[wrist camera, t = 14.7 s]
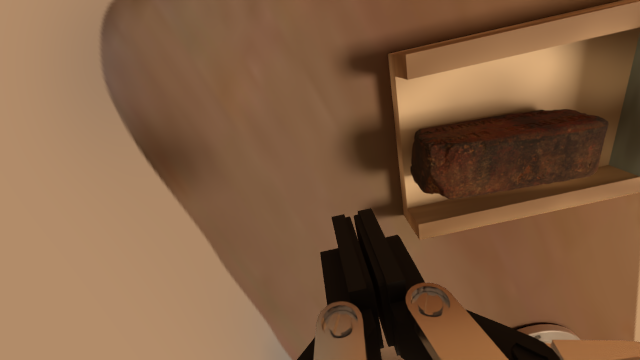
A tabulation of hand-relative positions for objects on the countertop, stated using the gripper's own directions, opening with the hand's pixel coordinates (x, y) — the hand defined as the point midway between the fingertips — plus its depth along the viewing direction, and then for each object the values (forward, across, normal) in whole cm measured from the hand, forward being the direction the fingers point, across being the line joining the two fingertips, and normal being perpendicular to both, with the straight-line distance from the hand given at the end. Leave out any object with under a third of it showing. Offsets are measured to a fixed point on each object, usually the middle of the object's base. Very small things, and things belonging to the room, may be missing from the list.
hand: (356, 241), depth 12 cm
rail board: (+11, -14, +1) cm, 18 cm away
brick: (+10, -11, +2) cm, 15 cm away
